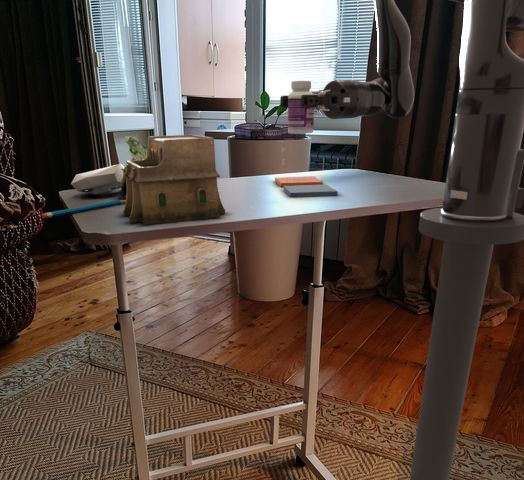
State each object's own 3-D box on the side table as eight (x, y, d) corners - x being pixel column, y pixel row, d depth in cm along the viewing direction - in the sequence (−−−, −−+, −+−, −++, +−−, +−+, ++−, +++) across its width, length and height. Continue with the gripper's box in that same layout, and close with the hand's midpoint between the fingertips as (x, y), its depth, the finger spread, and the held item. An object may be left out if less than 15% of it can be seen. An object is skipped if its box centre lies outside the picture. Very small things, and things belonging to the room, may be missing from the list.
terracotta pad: (314, 180, 114) (314, 176, 114) (322, 185, 106) (322, 181, 106) (275, 181, 114) (275, 177, 113) (280, 187, 106) (280, 183, 105)
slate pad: (326, 188, 103) (327, 184, 102) (337, 195, 95) (337, 191, 94) (283, 189, 102) (283, 185, 102) (290, 197, 94) (290, 192, 94)
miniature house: (204, 202, 90) (200, 133, 85) (230, 216, 78) (226, 137, 73) (119, 210, 85) (109, 137, 80) (133, 226, 73) (122, 142, 68)
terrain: (186, 205, 94) (192, 196, 92) (144, 207, 87) (150, 197, 85) (151, 142, 96) (156, 132, 94) (108, 139, 90) (112, 129, 88)
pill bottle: (312, 133, 102) (313, 80, 98) (286, 134, 103) (286, 81, 99) (314, 132, 107) (315, 80, 102) (289, 132, 108) (289, 81, 103)
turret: (157, 187, 111) (151, 164, 110) (112, 187, 93) (105, 160, 92) (117, 196, 114) (111, 174, 113) (66, 198, 96) (59, 172, 94)
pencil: (43, 214, 79) (44, 218, 79) (128, 198, 91) (129, 202, 92) (40, 213, 79) (41, 218, 80) (125, 198, 92) (126, 202, 92)
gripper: (323, 81, 114) (267, 81, 104) (374, 78, 104) (318, 78, 94) (322, 118, 117) (268, 121, 107) (371, 118, 107) (317, 122, 97)
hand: (292, 101), depth 101 cm, fingers closed on pill bottle, 5 cm apart
